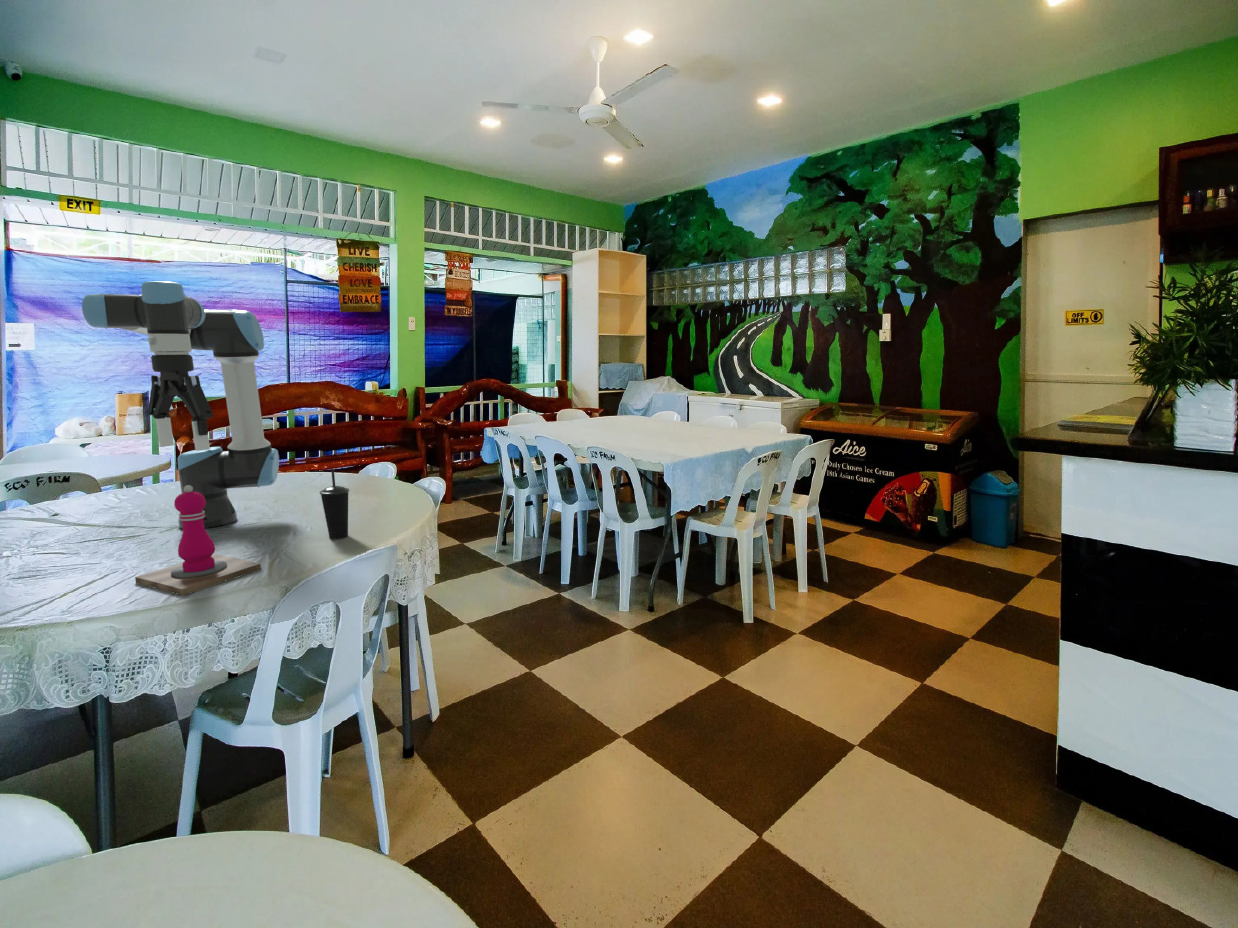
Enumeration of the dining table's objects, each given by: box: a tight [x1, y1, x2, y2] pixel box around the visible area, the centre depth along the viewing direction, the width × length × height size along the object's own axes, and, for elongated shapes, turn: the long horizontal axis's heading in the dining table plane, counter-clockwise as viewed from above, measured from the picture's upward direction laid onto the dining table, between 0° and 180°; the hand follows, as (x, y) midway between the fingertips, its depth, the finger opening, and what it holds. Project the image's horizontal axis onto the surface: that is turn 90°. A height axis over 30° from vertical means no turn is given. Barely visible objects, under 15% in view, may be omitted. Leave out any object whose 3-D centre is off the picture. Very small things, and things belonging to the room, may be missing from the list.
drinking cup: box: [319, 467, 350, 540], centre depth 174 cm, size 8×8×20 cm
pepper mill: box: [174, 485, 216, 572], centre depth 143 cm, size 7×7×20 cm
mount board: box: [134, 553, 262, 596], centre depth 145 cm, size 18×18×2 cm
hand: (184, 448), depth 141 cm, fingers open, 13 cm apart
